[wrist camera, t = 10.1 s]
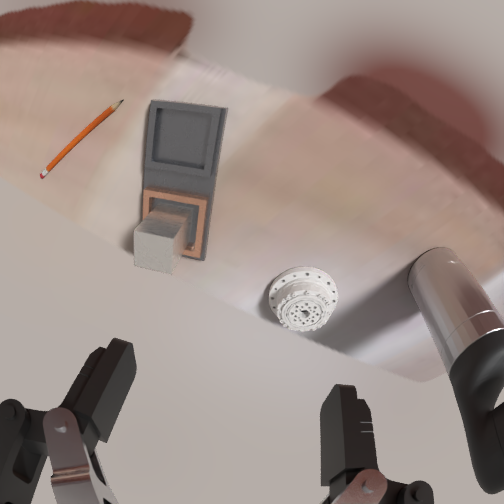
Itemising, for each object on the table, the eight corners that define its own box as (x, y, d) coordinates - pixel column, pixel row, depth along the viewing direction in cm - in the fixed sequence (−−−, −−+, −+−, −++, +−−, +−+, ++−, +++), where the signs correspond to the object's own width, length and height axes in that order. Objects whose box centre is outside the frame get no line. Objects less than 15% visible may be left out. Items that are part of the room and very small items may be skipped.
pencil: (42, 172, 37) (38, 174, 36) (123, 96, 31) (120, 96, 31) (44, 177, 37) (41, 179, 37) (127, 101, 32) (124, 102, 31)
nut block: (193, 208, 37) (173, 238, 30) (190, 239, 39) (171, 274, 32) (159, 202, 37) (133, 230, 30) (158, 233, 39) (134, 265, 32)
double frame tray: (228, 107, 31) (225, 108, 30) (205, 257, 42) (202, 264, 40) (154, 99, 31) (147, 100, 29) (144, 244, 41) (139, 251, 40)
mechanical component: (254, 291, 44) (297, 328, 47) (252, 311, 40) (298, 348, 44) (308, 252, 40) (349, 295, 43) (311, 270, 36) (354, 315, 39)
